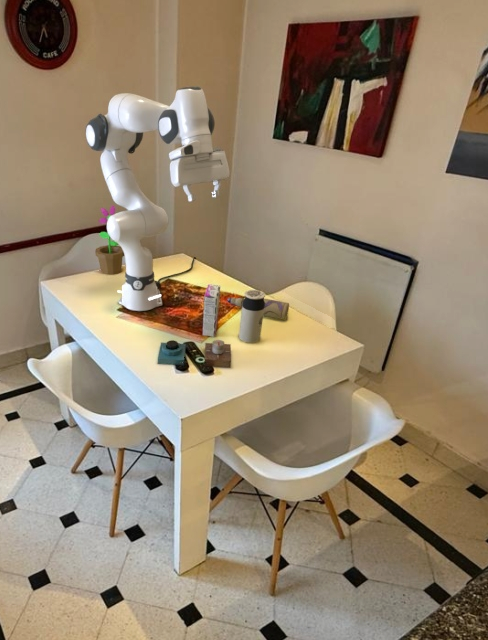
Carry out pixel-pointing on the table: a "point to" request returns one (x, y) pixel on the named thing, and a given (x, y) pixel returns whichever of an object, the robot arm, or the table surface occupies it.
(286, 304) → the decorative bottle
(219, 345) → the dial knob
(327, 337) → the table surface
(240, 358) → the table surface
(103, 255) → the flowerpot
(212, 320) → the candy bar box
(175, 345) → the button
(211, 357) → the dial panel
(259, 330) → the travel mug
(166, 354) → the button box
